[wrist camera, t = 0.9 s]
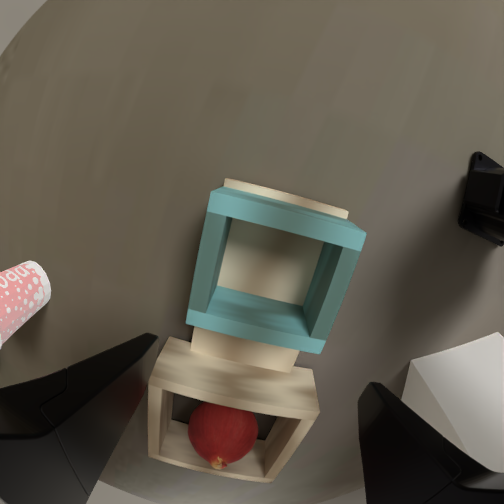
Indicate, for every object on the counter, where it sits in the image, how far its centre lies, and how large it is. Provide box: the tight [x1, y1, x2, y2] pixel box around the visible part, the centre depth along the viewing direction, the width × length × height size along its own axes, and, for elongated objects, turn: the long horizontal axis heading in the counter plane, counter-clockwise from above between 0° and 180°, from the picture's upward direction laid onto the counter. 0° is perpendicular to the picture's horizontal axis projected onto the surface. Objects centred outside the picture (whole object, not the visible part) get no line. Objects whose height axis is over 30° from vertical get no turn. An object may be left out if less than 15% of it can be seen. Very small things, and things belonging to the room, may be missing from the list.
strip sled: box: [148, 178, 367, 483], centre depth 20 cm, size 12×25×5 cm, turn 166°
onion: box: [188, 401, 258, 470], centre depth 20 cm, size 6×6×8 cm
